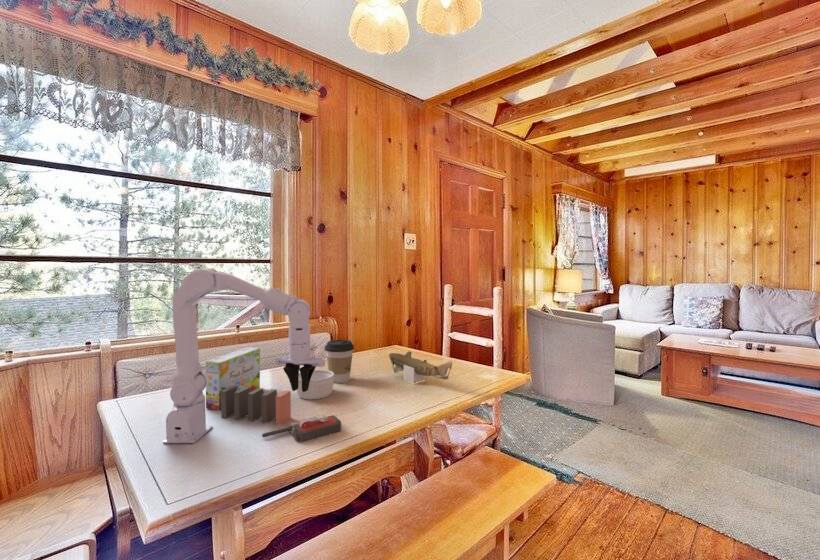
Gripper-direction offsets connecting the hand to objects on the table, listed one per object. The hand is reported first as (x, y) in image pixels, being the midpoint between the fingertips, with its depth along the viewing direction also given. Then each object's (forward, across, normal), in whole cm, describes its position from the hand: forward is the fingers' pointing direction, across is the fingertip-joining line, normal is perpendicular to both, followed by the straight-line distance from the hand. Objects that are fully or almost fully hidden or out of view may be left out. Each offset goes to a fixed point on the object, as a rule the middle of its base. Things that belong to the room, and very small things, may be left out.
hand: (300, 390), depth 107 cm
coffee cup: (+10, +5, -38) cm, 40 cm away
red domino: (+9, +6, 0) cm, 11 cm away
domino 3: (+9, +14, 0) cm, 17 cm away
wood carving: (+10, -24, -44) cm, 51 cm away
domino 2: (+9, +19, 0) cm, 21 cm away
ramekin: (+10, +7, -22) cm, 25 cm away
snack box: (+10, +32, -13) cm, 36 cm away
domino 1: (+9, +24, 0) cm, 25 cm away
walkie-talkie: (+10, -5, +6) cm, 13 cm away
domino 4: (+9, +10, 0) cm, 14 cm away
